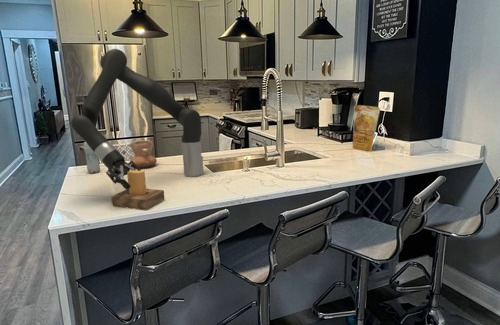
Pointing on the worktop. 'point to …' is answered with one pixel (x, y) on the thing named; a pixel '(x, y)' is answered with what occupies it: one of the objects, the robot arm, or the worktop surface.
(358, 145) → the pancake mix bag
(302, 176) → the worktop surface
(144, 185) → the tan rectangular block
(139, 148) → the reddish brown vase
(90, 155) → the bottle
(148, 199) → the slotted box
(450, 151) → the worktop surface
